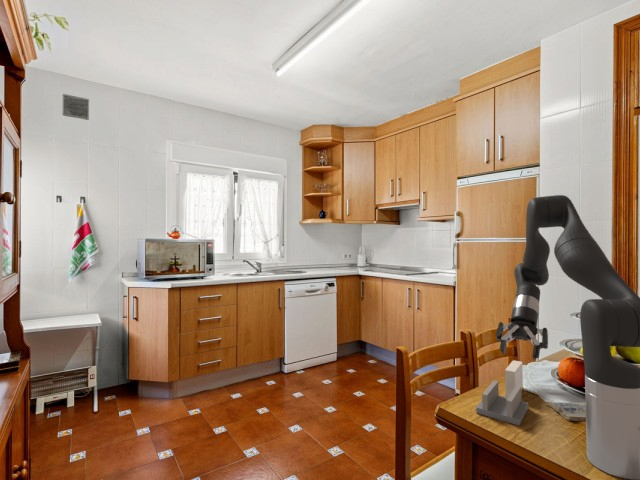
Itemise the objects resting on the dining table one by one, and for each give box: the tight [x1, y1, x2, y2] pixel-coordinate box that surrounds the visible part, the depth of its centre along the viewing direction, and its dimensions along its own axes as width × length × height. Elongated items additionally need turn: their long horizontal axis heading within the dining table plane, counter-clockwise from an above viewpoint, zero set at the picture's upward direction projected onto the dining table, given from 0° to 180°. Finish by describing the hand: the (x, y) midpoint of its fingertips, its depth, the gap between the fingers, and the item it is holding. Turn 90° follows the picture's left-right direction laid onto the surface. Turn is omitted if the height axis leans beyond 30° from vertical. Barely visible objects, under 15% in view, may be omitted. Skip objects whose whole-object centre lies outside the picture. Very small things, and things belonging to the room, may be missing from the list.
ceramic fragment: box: [544, 401, 586, 422], centre depth 91 cm, size 11×3×10 cm
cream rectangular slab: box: [504, 359, 524, 398], centre depth 103 cm, size 2×10×8 cm, turn 139°
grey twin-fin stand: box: [475, 380, 529, 427], centre depth 93 cm, size 10×11×6 cm
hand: (518, 355), depth 108 cm, fingers open, 8 cm apart
